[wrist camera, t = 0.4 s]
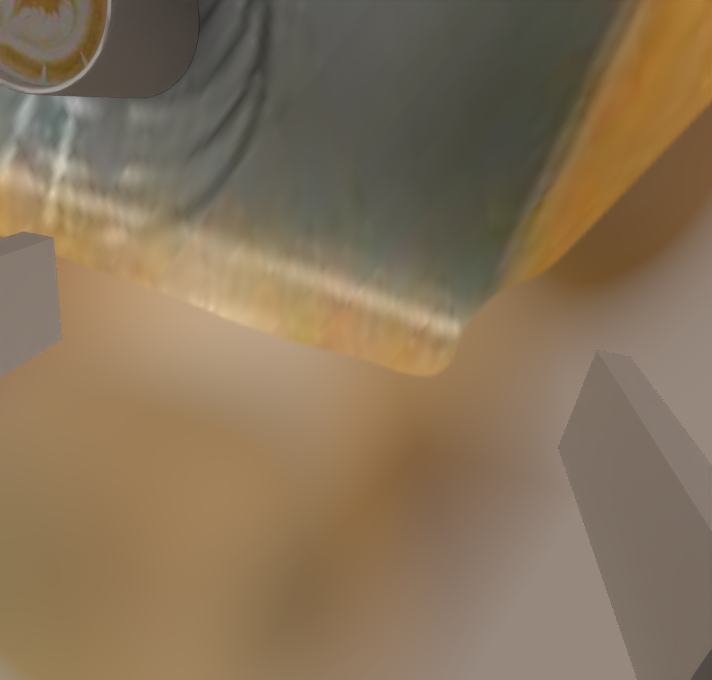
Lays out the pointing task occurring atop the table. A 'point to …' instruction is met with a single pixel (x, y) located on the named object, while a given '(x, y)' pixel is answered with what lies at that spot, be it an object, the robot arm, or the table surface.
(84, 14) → the coffee mug
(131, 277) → the table surface
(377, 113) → the table surface
